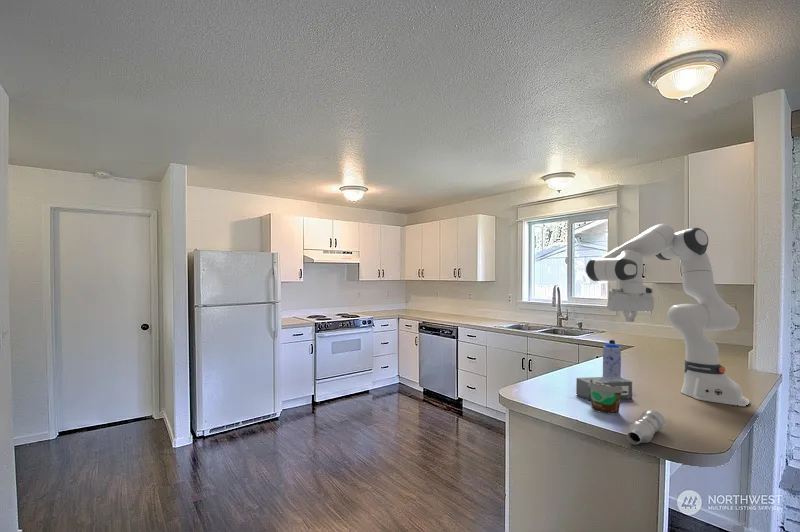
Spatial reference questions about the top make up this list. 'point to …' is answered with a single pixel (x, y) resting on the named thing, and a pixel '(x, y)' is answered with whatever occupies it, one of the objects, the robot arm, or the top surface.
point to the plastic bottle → (645, 427)
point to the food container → (605, 397)
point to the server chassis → (584, 389)
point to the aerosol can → (611, 360)
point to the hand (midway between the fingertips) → (630, 321)
